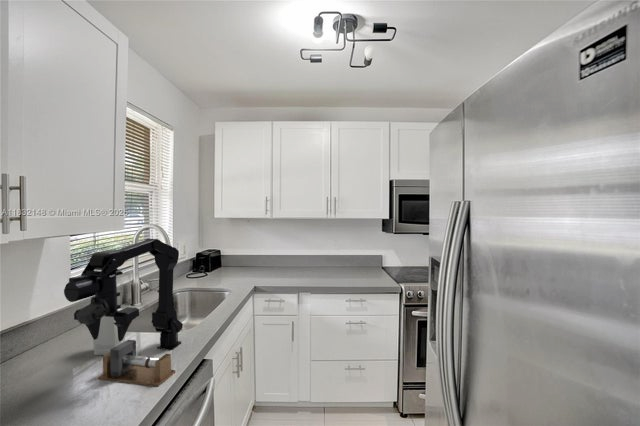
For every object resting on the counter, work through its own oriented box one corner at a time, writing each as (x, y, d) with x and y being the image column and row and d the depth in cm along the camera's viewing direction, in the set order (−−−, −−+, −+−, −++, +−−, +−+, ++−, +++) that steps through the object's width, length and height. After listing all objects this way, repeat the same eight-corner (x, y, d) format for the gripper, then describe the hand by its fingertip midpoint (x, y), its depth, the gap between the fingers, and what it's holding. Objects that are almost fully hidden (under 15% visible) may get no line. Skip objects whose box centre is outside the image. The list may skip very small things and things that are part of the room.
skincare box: (125, 347, 120) (124, 308, 120) (114, 355, 113) (114, 314, 113) (104, 347, 120) (103, 308, 119) (92, 355, 113) (91, 314, 113)
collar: (110, 375, 97) (110, 349, 97) (128, 363, 104) (128, 339, 104) (118, 376, 96) (118, 350, 96) (136, 364, 103) (135, 340, 103)
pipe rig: (97, 379, 97) (97, 358, 97) (118, 366, 105) (118, 346, 105) (158, 386, 93) (157, 364, 93) (175, 372, 101) (174, 351, 101)
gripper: (55, 298, 89) (57, 350, 90) (110, 301, 86) (112, 354, 87) (89, 287, 100) (91, 334, 101) (139, 289, 97) (141, 337, 98)
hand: (108, 340), depth 96 cm, fingers open, 9 cm apart
